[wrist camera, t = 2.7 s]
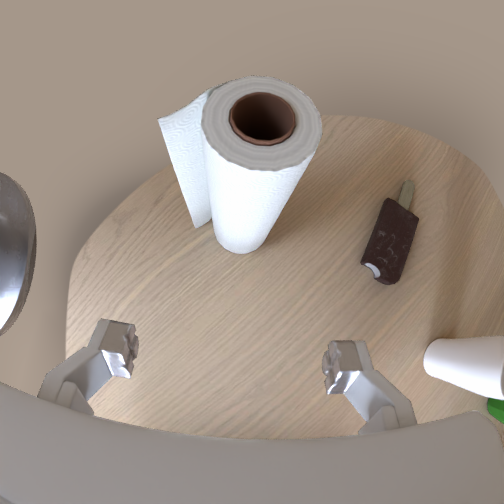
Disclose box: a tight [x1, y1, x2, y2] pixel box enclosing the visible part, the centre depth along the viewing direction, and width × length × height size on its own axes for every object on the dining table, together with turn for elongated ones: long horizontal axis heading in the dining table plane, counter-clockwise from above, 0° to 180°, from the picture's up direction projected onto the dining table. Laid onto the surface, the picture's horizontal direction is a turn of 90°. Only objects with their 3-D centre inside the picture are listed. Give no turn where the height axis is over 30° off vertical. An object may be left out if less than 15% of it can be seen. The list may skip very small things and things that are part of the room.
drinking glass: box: [423, 335, 504, 400], centre depth 26 cm, size 7×7×15 cm
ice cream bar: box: [361, 180, 419, 285], centre depth 35 cm, size 5×2×15 cm
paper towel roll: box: [158, 76, 322, 254], centre depth 24 cm, size 7×6×21 cm
